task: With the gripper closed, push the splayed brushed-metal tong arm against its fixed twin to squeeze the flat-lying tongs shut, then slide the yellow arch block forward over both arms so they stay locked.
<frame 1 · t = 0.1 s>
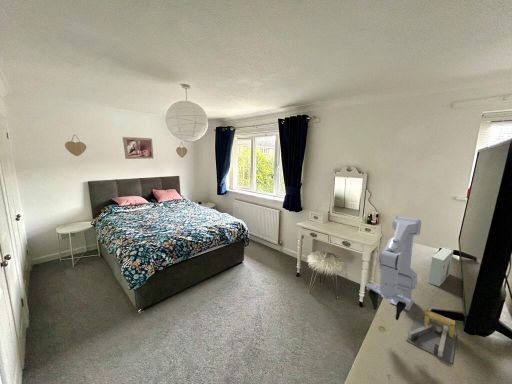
hand: (385, 313, 83), 10 cm above the table, fingers open, 7 cm apart
tongs fixed: (438, 333, 84), resting on mat
yellow arch block: (439, 323, 85), point 3 cm above the table, slide at 0.0 cm
skincare box 2: (439, 279, 122), on the table
tong arm: (421, 332, 83), point 2 cm above the table, hinge at -25.0°
mat: (431, 337, 83), on the table
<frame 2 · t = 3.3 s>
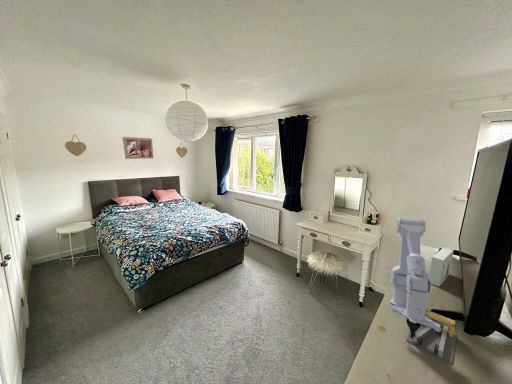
hand: (412, 336, 82), 1 cm above the table, fingers closed, pressing on tong arm
tong arm: (424, 334, 82), point 2 cm above the table, hinge at -16.3°, touching gripper
everything else where it was.
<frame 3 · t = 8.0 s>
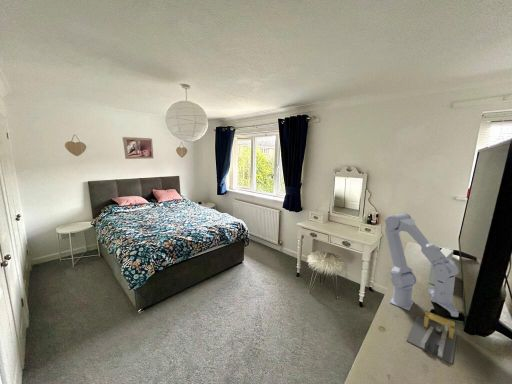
hand: (440, 319, 87), 3 cm above the table, fingers closed
yellow arch block: (438, 324, 85), point 3 cm above the table, slide at 0.9 cm, touching gripper
tong arm: (429, 337, 81), point 2 cm above the table, hinge at -5.5°
everything else where it was.
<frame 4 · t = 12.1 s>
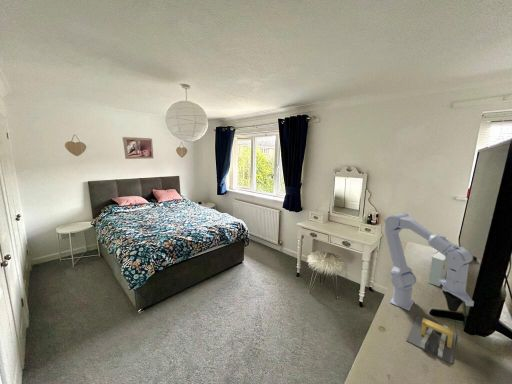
hand: (452, 310, 83), 10 cm above the table, fingers closed
yellow arch block: (436, 332, 81), point 3 cm above the table, slide at 6.7 cm
everything else where it was.
at the end: tong arm at -6° (first picture: -25°); yellow arch block slide at 6.7 cm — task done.
